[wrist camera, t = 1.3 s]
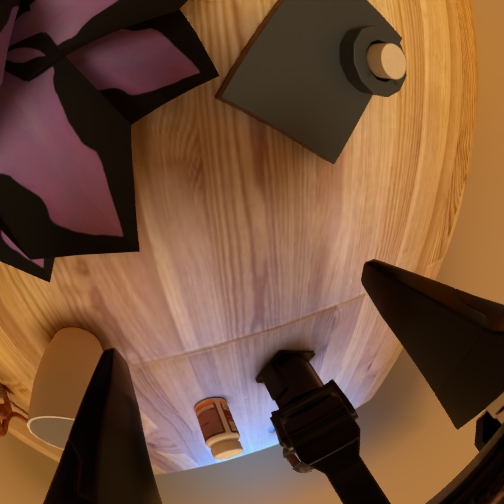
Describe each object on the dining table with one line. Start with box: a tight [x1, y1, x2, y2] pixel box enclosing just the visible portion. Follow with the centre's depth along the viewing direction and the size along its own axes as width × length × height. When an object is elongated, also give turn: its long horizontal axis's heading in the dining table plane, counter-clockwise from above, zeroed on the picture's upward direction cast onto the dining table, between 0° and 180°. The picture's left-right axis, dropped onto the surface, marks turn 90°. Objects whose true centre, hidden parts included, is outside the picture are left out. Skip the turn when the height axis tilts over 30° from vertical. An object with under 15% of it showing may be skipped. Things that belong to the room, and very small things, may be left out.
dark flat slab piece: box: [216, 0, 406, 164], centre depth 15 cm, size 11×14×3 cm
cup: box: [27, 327, 103, 450], centre depth 17 cm, size 8×8×10 cm
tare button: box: [366, 43, 406, 79], centre depth 14 cm, size 3×3×2 cm
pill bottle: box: [195, 398, 243, 459], centre depth 31 cm, size 5×5×8 cm
